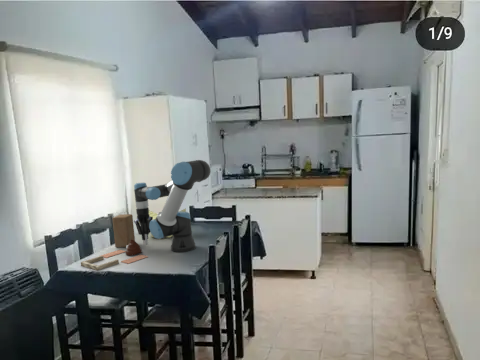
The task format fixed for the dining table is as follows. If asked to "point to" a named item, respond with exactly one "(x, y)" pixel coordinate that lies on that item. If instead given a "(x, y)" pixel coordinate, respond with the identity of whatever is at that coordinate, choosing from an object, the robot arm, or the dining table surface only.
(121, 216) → the wooden block
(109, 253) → the pads
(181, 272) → the dining table surface
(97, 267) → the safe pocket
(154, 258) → the dining table surface
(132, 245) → the poop emoji
